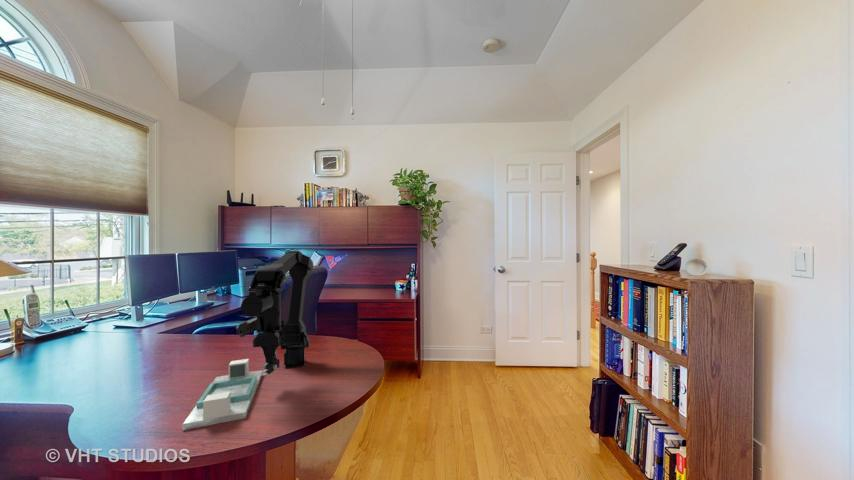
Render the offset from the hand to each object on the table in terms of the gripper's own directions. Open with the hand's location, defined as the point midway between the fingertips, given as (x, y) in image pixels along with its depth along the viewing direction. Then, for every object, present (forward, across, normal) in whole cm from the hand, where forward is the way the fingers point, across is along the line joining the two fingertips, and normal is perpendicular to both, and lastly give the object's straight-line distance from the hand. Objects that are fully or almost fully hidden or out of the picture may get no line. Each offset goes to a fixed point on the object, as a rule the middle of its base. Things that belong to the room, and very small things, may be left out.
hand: (270, 360), depth 88 cm
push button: (+4, 0, 0) cm, 4 cm away
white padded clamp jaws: (+8, 0, -10) cm, 13 cm away
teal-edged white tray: (+9, 0, -10) cm, 14 cm away
